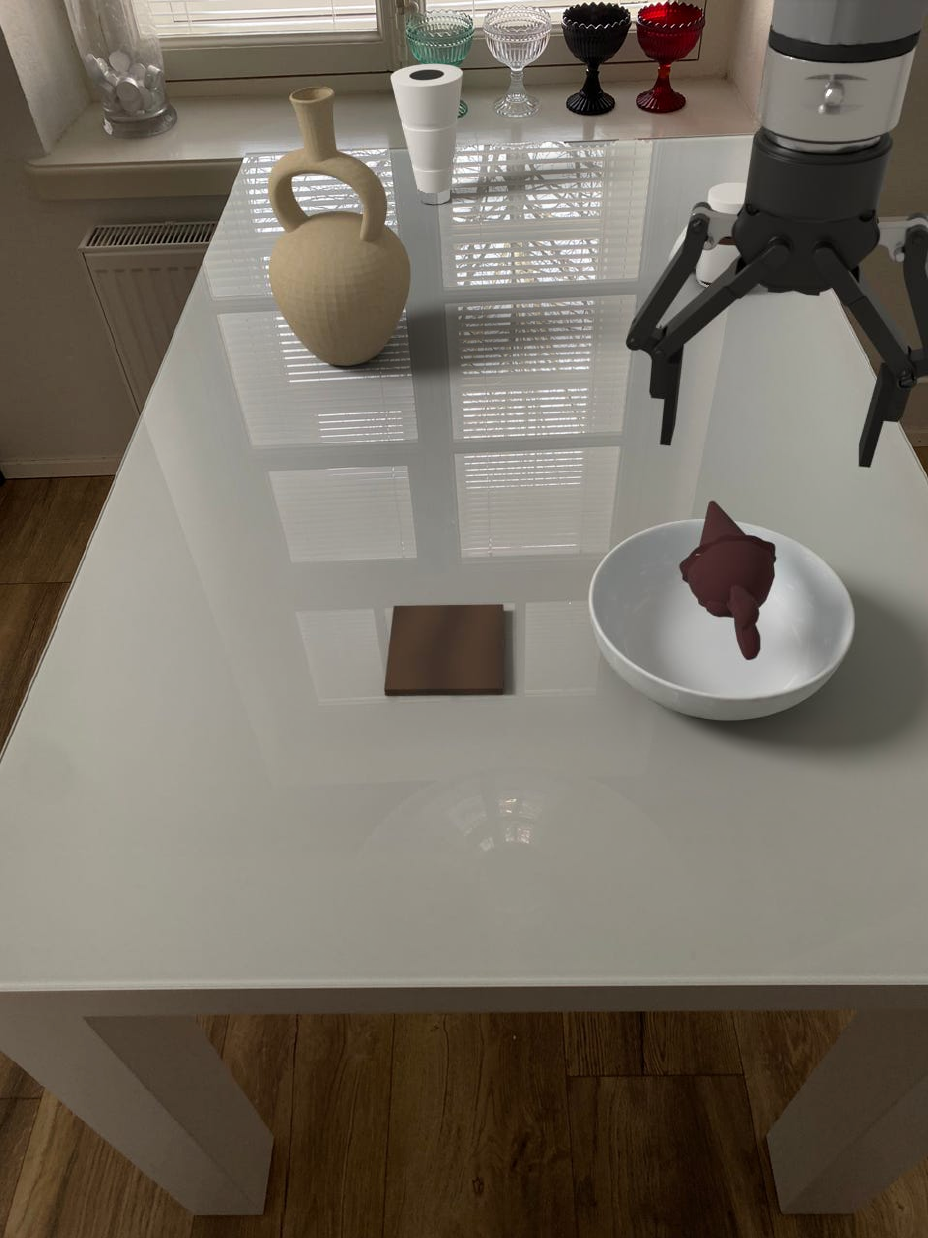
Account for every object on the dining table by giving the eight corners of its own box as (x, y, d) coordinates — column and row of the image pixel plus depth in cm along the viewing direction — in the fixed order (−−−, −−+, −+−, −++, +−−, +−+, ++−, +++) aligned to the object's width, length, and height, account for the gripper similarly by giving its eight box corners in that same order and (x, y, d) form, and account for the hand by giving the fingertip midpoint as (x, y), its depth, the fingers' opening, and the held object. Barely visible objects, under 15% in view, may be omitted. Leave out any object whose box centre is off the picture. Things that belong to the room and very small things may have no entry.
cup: (440, 180, 159) (432, 59, 146) (482, 198, 153) (477, 73, 140) (389, 199, 154) (376, 75, 142) (429, 218, 148) (420, 91, 136)
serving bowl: (745, 549, 91) (757, 491, 86) (889, 705, 77) (913, 647, 72) (546, 611, 87) (547, 554, 82) (660, 790, 73) (670, 734, 68)
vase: (263, 379, 117) (204, 116, 96) (317, 314, 128) (274, 65, 107) (390, 396, 113) (358, 125, 92) (435, 327, 124) (415, 71, 103)
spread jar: (754, 298, 125) (769, 209, 117) (666, 296, 127) (675, 207, 119) (749, 257, 134) (764, 171, 125) (667, 255, 135) (676, 170, 127)
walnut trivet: (503, 610, 87) (503, 603, 87) (503, 694, 80) (503, 688, 80) (394, 611, 88) (393, 605, 87) (385, 695, 81) (384, 689, 80)
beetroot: (661, 482, 78) (692, 625, 68) (754, 460, 76) (799, 604, 67) (672, 539, 83) (703, 679, 73) (760, 520, 81) (803, 661, 72)
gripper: (589, 145, 54) (581, 455, 69) (1083, 163, 48) (955, 498, 63) (613, 99, 59) (600, 398, 74) (1063, 111, 53) (949, 434, 68)
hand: (763, 445), depth 68 cm, fingers open, 13 cm apart
